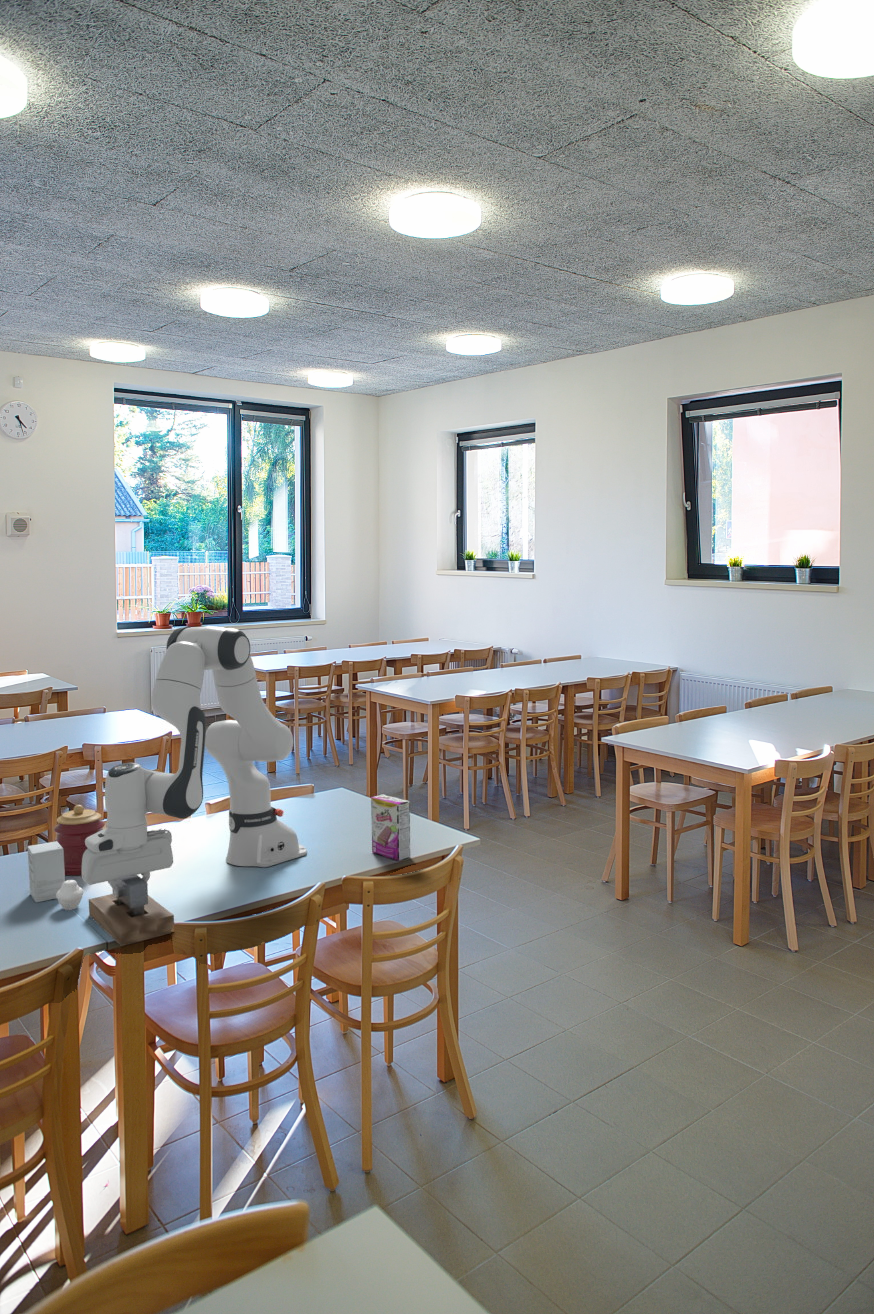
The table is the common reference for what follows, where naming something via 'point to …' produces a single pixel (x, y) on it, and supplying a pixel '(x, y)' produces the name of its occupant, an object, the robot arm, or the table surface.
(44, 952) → the table surface
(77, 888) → the muffin
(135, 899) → the grey u-shaped block
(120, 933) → the wooden socket board
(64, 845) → the canister
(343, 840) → the table surface
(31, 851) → the supplement box
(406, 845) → the candy bar box
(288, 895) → the table surface
